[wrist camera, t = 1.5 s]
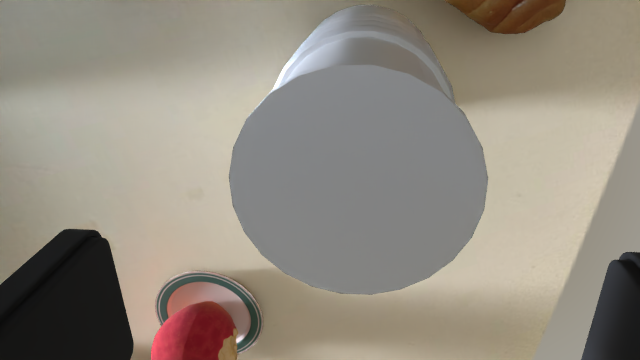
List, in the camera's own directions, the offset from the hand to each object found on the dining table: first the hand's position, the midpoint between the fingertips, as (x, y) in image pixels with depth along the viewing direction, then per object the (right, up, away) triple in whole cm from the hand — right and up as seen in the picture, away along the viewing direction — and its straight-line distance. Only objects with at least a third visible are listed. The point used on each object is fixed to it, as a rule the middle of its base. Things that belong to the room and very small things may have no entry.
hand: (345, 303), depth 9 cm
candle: (+2, +9, +17) cm, 19 cm away
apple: (-8, -7, +26) cm, 28 cm away
